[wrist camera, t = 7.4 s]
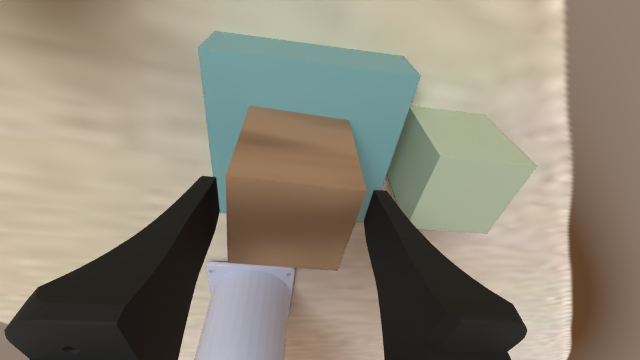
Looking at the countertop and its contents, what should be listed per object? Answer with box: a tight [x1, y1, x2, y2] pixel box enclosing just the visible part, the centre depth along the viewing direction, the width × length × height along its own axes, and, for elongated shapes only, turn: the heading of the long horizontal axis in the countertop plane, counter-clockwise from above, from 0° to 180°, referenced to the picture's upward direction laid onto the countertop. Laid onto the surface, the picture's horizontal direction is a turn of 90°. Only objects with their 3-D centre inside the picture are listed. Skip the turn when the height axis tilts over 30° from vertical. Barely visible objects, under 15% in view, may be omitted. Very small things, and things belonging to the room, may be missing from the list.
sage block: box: [387, 106, 537, 234], centre depth 18 cm, size 5×5×6 cm
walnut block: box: [226, 106, 367, 271], centre depth 14 cm, size 5×5×6 cm
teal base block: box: [198, 31, 420, 222], centre depth 18 cm, size 10×10×4 cm
